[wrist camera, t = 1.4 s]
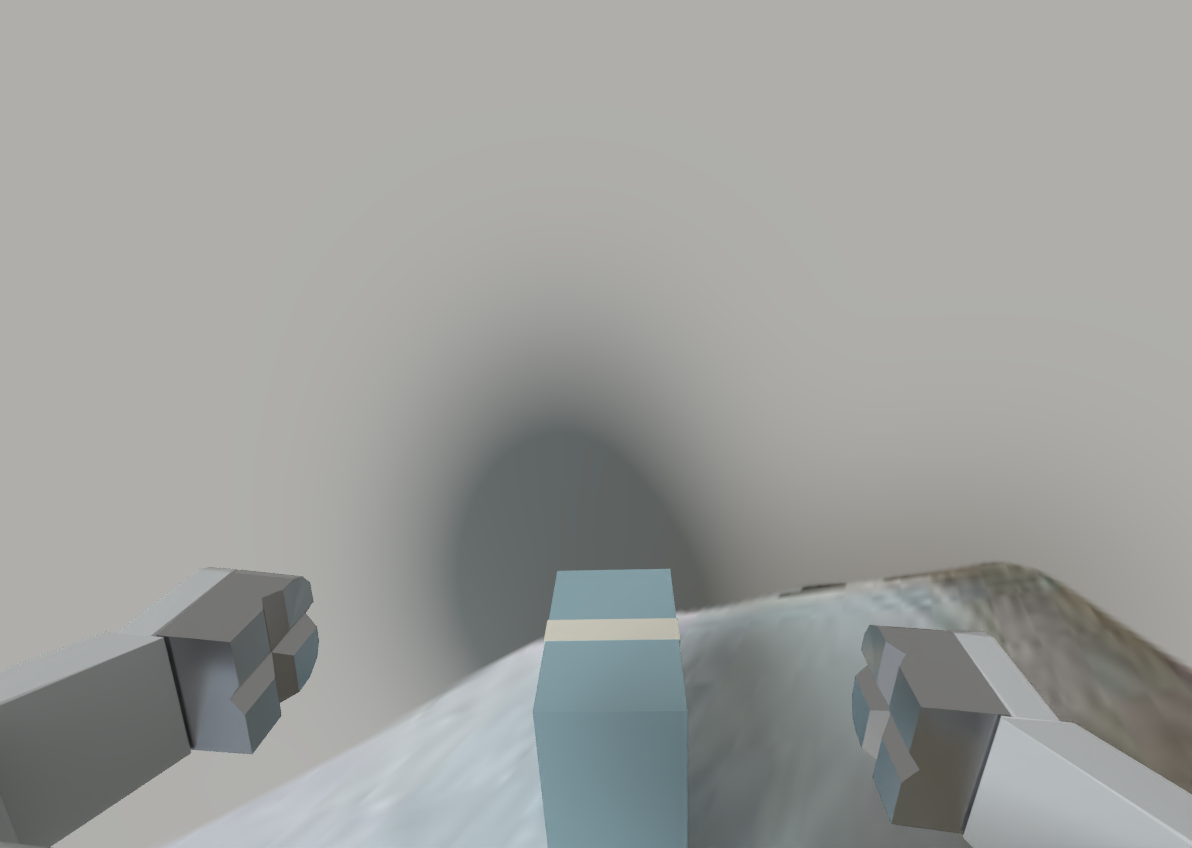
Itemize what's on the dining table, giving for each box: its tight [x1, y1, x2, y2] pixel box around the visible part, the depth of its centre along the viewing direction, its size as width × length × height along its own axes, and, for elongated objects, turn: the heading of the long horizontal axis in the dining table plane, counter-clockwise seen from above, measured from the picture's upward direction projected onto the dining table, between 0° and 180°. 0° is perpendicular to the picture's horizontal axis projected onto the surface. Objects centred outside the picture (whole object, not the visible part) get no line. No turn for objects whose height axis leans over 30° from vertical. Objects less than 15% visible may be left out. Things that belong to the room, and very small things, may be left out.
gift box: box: [533, 569, 688, 848], centre depth 26 cm, size 5×8×12 cm, turn 178°
